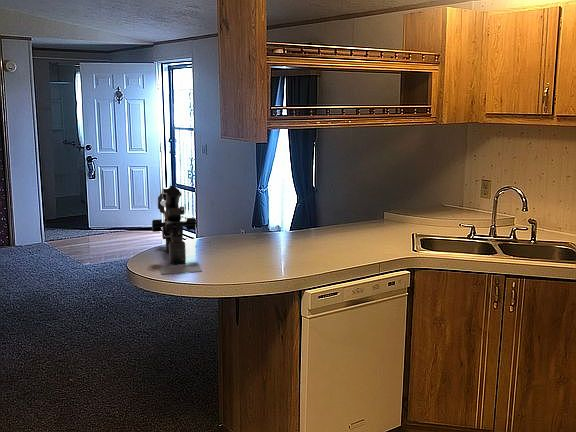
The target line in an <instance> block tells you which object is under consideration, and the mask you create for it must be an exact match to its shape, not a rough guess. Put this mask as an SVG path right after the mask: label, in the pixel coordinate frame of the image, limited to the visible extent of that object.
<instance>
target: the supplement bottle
mask: <svg viewBox="0 0 576 432" xmlns="http://www.w3.org/2000/svg"><path fill="white" fill-rule="evenodd" d="M183 235H184V234H183ZM183 235H180V234H175V235H171V240H172V241H171V242H170V243H169V253H168V254H169V255H168V256H169V257H168V258H169V259H168V260H169V264H170V265H172V264H173V265H172V266H179V265H178V264H181V265H185V263H186V262H187V256H186V252H187V251H186V243H185V241H184V238H183V237H184V236H183Z"/></svg>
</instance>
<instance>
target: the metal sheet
mask: <svg viewBox="0 0 576 432" xmlns="http://www.w3.org/2000/svg"><path fill="white" fill-rule="evenodd" d="M159 271H160V274H161V275H172V274H173V275H174V274H175V273H176V274H185V272H190V273H202V272H203V269H202V268H201V266H200V265H199V264H197V263H196V264H181V265H170V266H169V265H168V266H167V265H166V266H159Z"/></svg>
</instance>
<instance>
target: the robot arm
mask: <svg viewBox="0 0 576 432" xmlns="http://www.w3.org/2000/svg"><path fill="white" fill-rule="evenodd" d="M181 196H182V192H181V191H180V189H179V188H178V187H176V186H175V185H169V187H163V188H162V189H161V193H160V194H159V196H158V197H157V209H158V210H159V212H160V214H163V217H164V219H163V220H164V221H162V218H161V219H160V218H159V219H153V220H152V222H151V231H152V233H153V232H154V233H155V232H159V233H160V232H161V235H162V240H165V249H162V251H163V252H165V253H168V254H169V243H170V242H171V241H172V240H171V235H175V234H180V235H184V227H185V229H186V230H188V231H191V230H192V231H195V230H196V229H197V227H196V226H197V219H196V218H195V217H186V220H183V221H182V215H185V213H186V211H185V206H179V204H180V198H181Z"/></svg>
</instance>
